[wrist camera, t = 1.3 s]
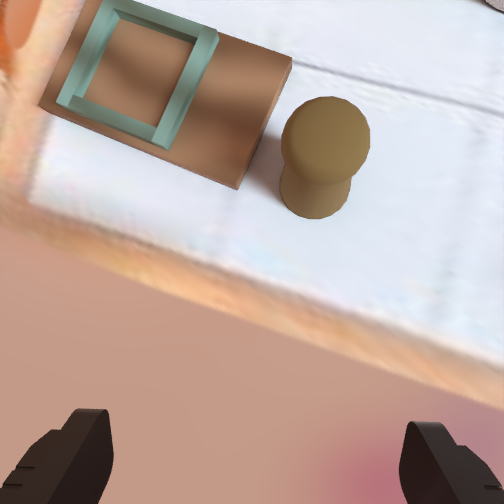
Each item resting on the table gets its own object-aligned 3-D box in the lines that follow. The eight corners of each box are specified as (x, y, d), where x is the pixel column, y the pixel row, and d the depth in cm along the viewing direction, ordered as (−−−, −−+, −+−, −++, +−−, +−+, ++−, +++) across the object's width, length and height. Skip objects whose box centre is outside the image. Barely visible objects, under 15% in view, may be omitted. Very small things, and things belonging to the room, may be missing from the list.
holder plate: (101, 0, 34) (84, -24, 31) (291, 68, 31) (292, 48, 28) (49, 112, 33) (28, 98, 31) (237, 190, 31) (232, 181, 28)
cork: (267, 170, 30) (254, 109, 20) (330, 138, 30) (352, 58, 19) (298, 231, 30) (302, 203, 19) (363, 199, 29) (405, 152, 18)
